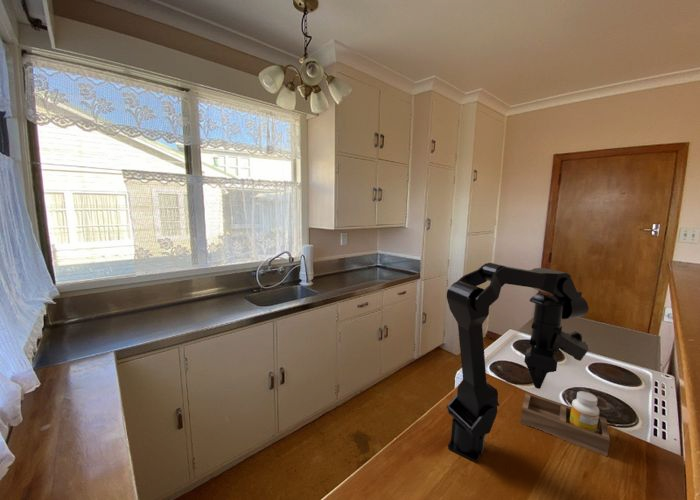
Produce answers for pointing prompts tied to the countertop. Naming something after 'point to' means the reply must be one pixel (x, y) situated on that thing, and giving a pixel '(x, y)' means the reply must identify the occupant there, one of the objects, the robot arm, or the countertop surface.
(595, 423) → the supplement bottle
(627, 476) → the countertop surface
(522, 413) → the walnut trough
